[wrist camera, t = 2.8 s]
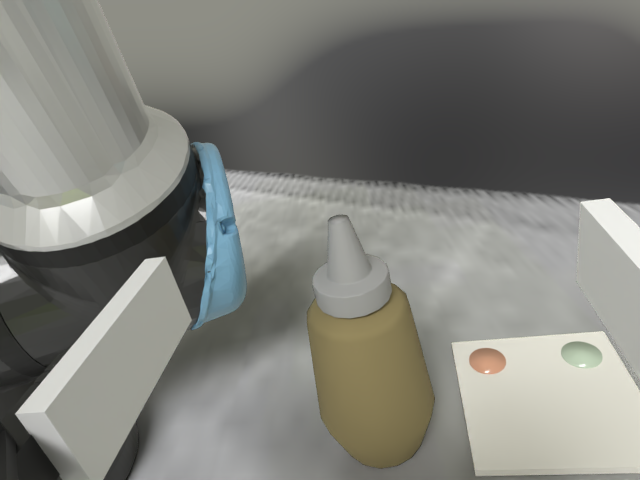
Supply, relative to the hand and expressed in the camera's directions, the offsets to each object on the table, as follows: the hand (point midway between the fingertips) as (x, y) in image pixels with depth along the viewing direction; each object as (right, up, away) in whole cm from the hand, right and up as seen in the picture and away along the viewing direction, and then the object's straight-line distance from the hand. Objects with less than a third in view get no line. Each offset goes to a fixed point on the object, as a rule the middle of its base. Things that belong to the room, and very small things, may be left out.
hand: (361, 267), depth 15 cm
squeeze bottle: (+3, -14, +20) cm, 24 cm away
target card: (+15, -11, +19) cm, 27 cm away
